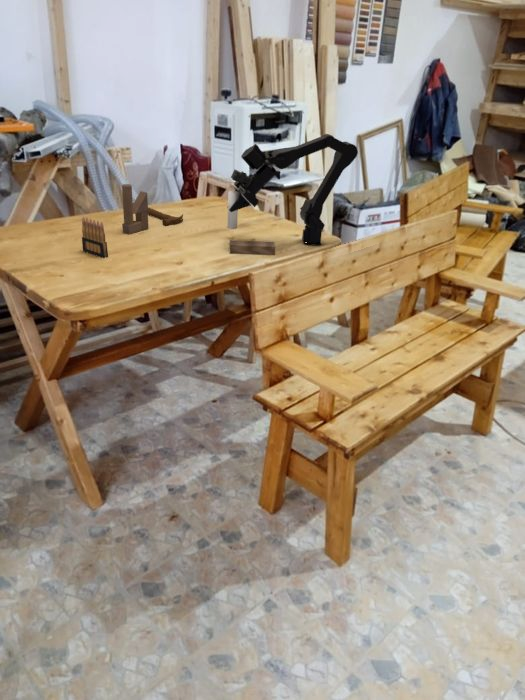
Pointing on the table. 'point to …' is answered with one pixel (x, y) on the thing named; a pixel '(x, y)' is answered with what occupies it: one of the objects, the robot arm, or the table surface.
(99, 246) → the ammunition clip
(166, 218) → the hammer
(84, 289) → the table surface
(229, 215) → the dowel
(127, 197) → the brown wooden bracket
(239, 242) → the beam
